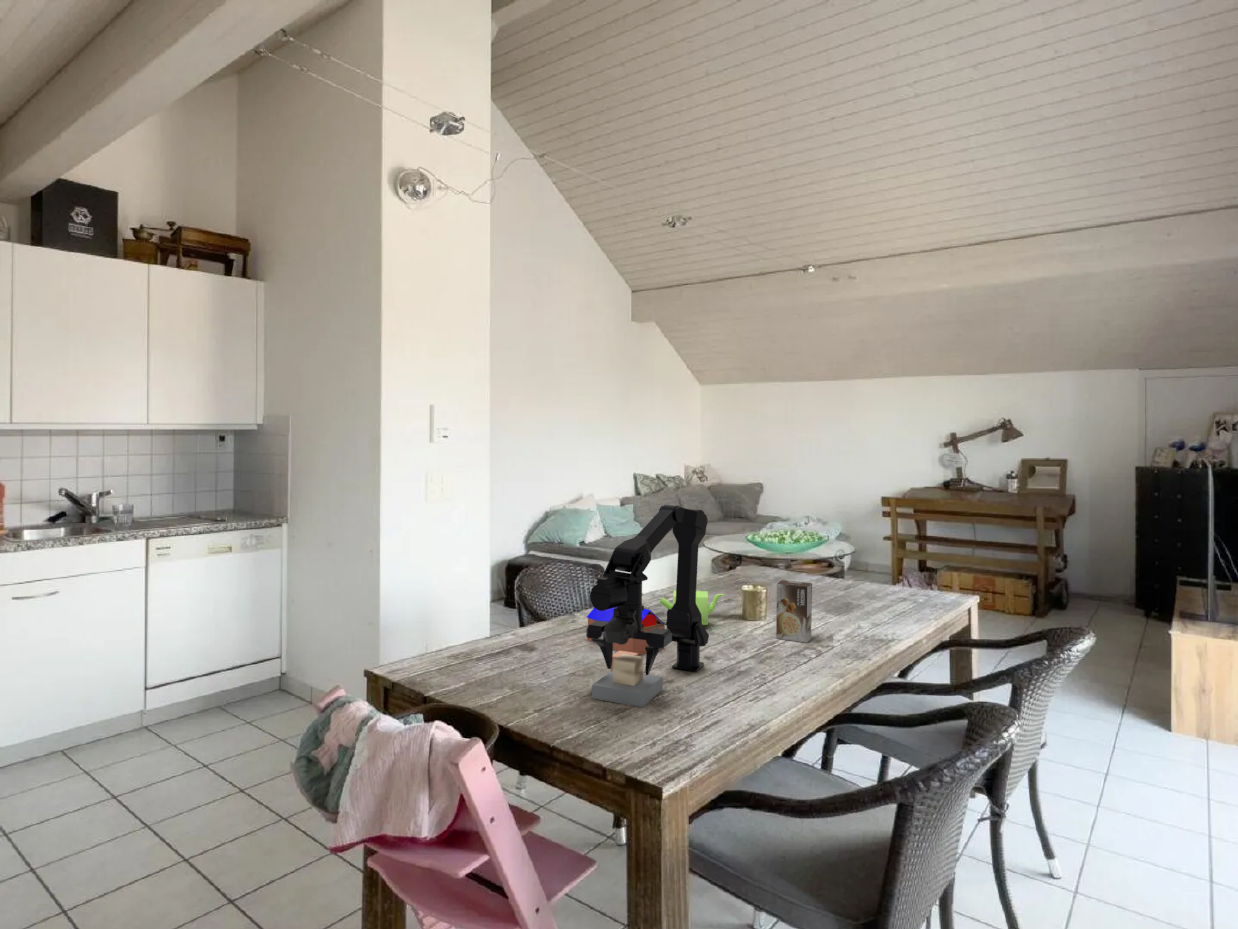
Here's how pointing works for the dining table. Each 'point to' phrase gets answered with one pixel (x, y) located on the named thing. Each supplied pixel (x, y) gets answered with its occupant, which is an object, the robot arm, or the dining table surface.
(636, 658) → the birch cube
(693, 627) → the robot arm
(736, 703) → the dining table surface
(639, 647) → the house
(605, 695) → the slate board
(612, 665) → the terracotta cube
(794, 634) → the coffee box
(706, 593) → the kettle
